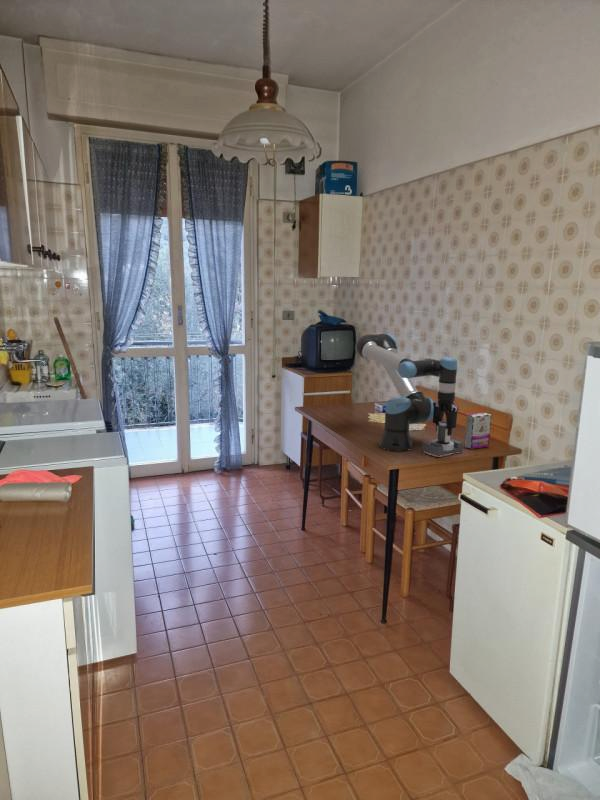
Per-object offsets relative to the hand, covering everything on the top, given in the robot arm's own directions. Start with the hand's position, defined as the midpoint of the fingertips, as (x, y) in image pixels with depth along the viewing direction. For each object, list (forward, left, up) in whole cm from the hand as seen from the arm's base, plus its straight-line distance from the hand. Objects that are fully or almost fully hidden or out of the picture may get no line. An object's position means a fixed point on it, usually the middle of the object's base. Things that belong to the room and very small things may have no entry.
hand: (442, 440), depth 251 cm
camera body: (0, 0, -6) cm, 6 cm away
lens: (0, 0, -2) cm, 2 cm away
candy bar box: (+21, -2, -6) cm, 22 cm away
